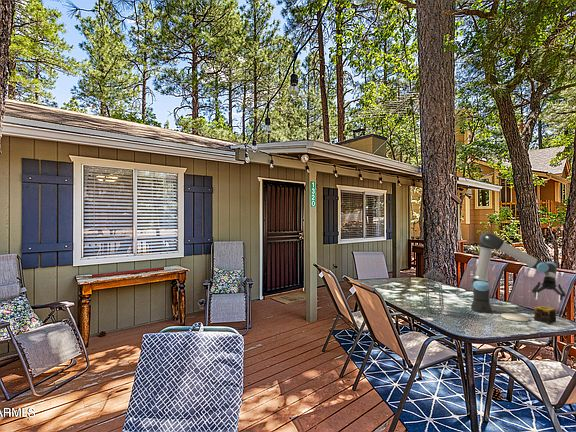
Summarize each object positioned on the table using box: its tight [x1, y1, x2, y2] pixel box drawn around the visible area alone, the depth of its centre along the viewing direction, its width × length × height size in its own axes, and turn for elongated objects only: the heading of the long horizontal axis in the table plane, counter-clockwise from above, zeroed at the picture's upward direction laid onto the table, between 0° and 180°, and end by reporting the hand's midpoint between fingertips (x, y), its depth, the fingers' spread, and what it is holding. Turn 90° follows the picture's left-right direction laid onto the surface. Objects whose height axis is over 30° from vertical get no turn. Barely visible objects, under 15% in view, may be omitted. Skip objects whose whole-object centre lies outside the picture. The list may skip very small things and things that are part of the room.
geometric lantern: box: [423, 268, 445, 315], centre depth 267 cm, size 16×16×35 cm
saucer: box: [500, 312, 531, 322], centre depth 250 cm, size 18×18×1 cm
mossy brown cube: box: [533, 305, 557, 325], centre depth 242 cm, size 10×10×10 cm
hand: (547, 301), depth 248 cm, fingers open, 13 cm apart
